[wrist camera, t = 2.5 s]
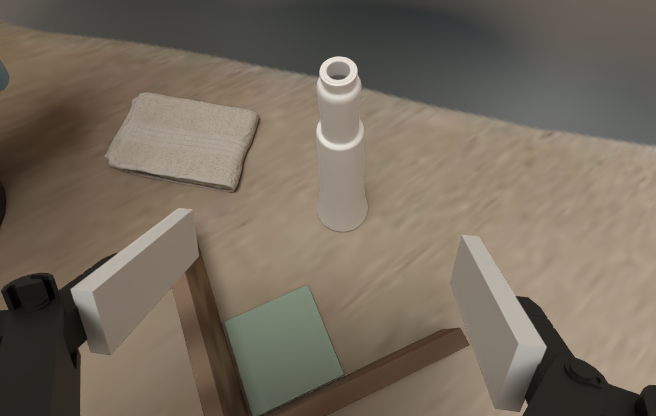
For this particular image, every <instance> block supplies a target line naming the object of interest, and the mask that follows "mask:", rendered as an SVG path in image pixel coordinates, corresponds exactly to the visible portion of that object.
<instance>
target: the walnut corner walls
mask: <svg viewBox="0 0 656 416" xmlns="http://www.w3.org/2000/svg"><path fill="white" fill-rule="evenodd" d="M197 245H198V243H197ZM198 253H199V257H198V258H197V259H196V260H195V261H194V262H193V264H192V265H191V266H190V267H189V268H188V269H187V270H186V271H185V273H184V274H183V275H182V276H181V277H180V278H179V279H178V280H177V282H176V283H175V284H174V285H173V286H172V289H173V293H174V297H175V301H176V305H177V309H178V313H179V317H180V321H181V325H182V329H183V333H184V337H185V341H186V345H187V349H188V353H189V357H190V361H191V365H192V369H193V373H194V377H195V381H196V385H197V389H198V393H199V397H200V401H201V405H202V409H203V413H204V416H248V413H247V410H246V406H245V403H244V399H243V396H242V393H241V389H240V386H239V382H238V379H237V375H236V372H235V369H234V365H233V362H232V358H231V355H230V352H229V348H228V345H227V341H226V338H225V335H224V331H223V328H222V324H221V321H220V318H219V314H218V311H217V307H216V304H215V301H214V297H213V294H212V290H211V287H210V284H209V280H208V277H207V273H206V270H205V266H204V263H203V260H202V256H201V253H200V249H199V246H198ZM467 346H469V343H468V341H467V339H466V337H465V336H464V334H463V332H462V330H461V328H453V329H442V330H440V331H438V332H436V333H434V334H432V335H429V336H427V337H425V338H423V339H421V340H419V341H417V342H415V343H413V344H411V345H409V346H407V347H405V348H402V349H400V350H398V351H396V352H394V353H392V354H390V355H388V356H386V357H384V358H382V359H380V360H378V361H375V362H373V363H371V364H369V365H367V366H365V367H363V368H361V369H359V370H357V371H355V372H353V373H351V374H349V375H346V376H344V377H342V378H340V379H338V380H336V381H334V382H332V383H330V384H328V385H326V386H324V387H322V388H319V389H317V390H315V391H313V392H311V393H309V394H307V395H305V396H303V397H301V398H299V399H297V400H295V401H292V402H290V403H288V404H286V405H284V406H282V407H280V408H278V409H276V410H274V411H272V412H270V413H268V414H266V415H263V416H326V415H329V414H331V413H333V412H335V411H337V410H339V409H341V408H343V407H345V406H347V405H349V404H351V403H353V402H355V401H357V400H359V399H361V398H363V397H365V396H367V395H369V394H371V393H373V392H375V391H377V390H379V389H381V388H383V387H385V386H387V385H389V384H392V383H394V382H396V381H398V380H400V379H402V378H404V377H406V376H408V375H410V374H412V373H414V372H416V371H418V370H420V369H422V368H424V367H426V366H428V365H430V364H432V363H434V362H436V361H438V360H440V359H442V358H444V357H446V356H448V355H450V354H452V353H455V352H457V351H459V350H461V349H463V348H465V347H467Z"/></svg>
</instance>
